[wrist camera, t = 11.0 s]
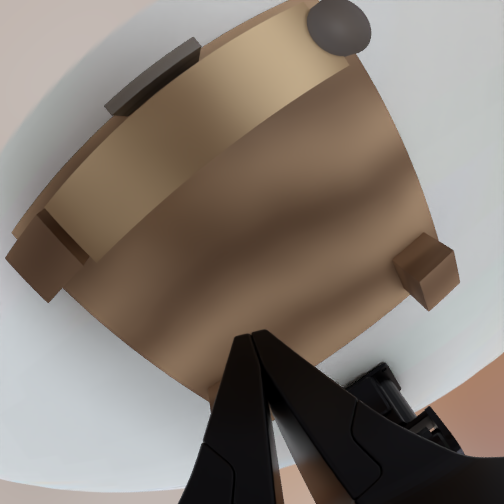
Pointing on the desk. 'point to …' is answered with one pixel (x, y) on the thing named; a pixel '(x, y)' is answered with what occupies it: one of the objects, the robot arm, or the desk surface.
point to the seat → (255, 232)
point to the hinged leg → (203, 118)
